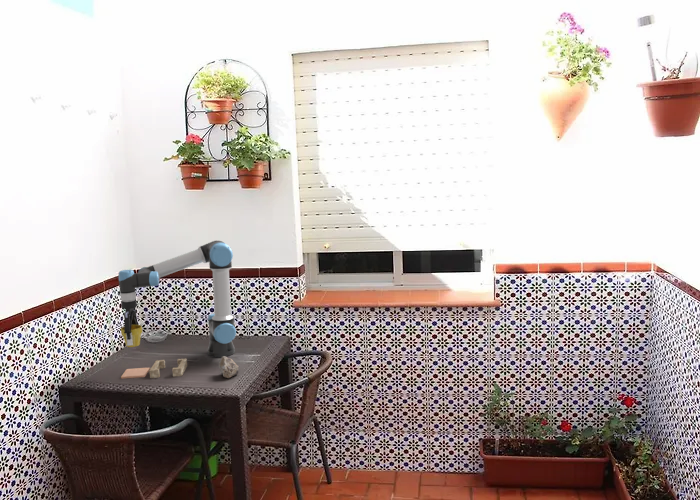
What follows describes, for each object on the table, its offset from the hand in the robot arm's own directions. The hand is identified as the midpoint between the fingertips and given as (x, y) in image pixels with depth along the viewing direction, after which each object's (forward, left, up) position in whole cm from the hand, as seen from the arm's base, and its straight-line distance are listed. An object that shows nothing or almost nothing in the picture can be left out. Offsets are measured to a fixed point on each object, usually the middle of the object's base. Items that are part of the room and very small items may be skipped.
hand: (132, 342), depth 340 cm
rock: (-49, +13, -17) cm, 54 cm away
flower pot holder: (-17, 0, -17) cm, 24 cm away
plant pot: (0, 0, -2) cm, 2 cm away
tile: (0, 0, -17) cm, 17 cm away
